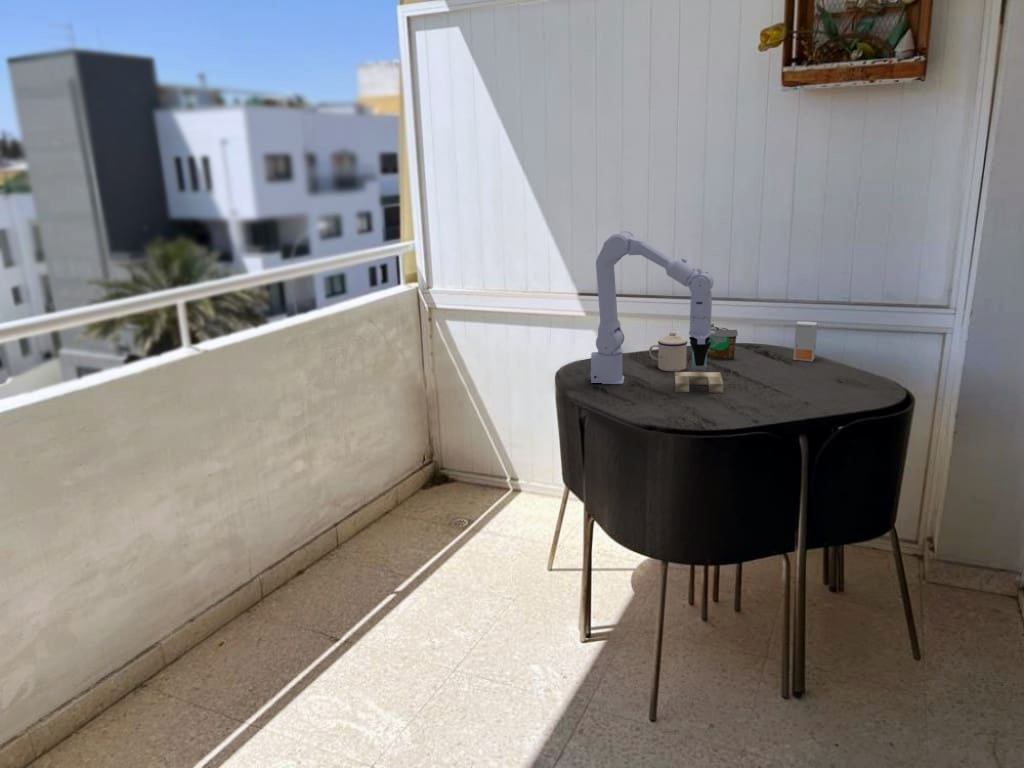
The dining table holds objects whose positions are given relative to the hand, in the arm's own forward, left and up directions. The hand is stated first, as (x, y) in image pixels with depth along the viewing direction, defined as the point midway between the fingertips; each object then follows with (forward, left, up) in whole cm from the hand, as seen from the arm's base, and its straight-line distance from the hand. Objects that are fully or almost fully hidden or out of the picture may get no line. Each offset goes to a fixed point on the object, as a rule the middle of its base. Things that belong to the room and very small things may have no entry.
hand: (699, 363), depth 206 cm
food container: (+7, +36, -7) cm, 37 cm away
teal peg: (0, 0, -1) cm, 1 cm away
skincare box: (+34, +34, -7) cm, 49 cm away
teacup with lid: (-9, +22, -7) cm, 24 cm away
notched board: (0, +2, -7) cm, 7 cm away
